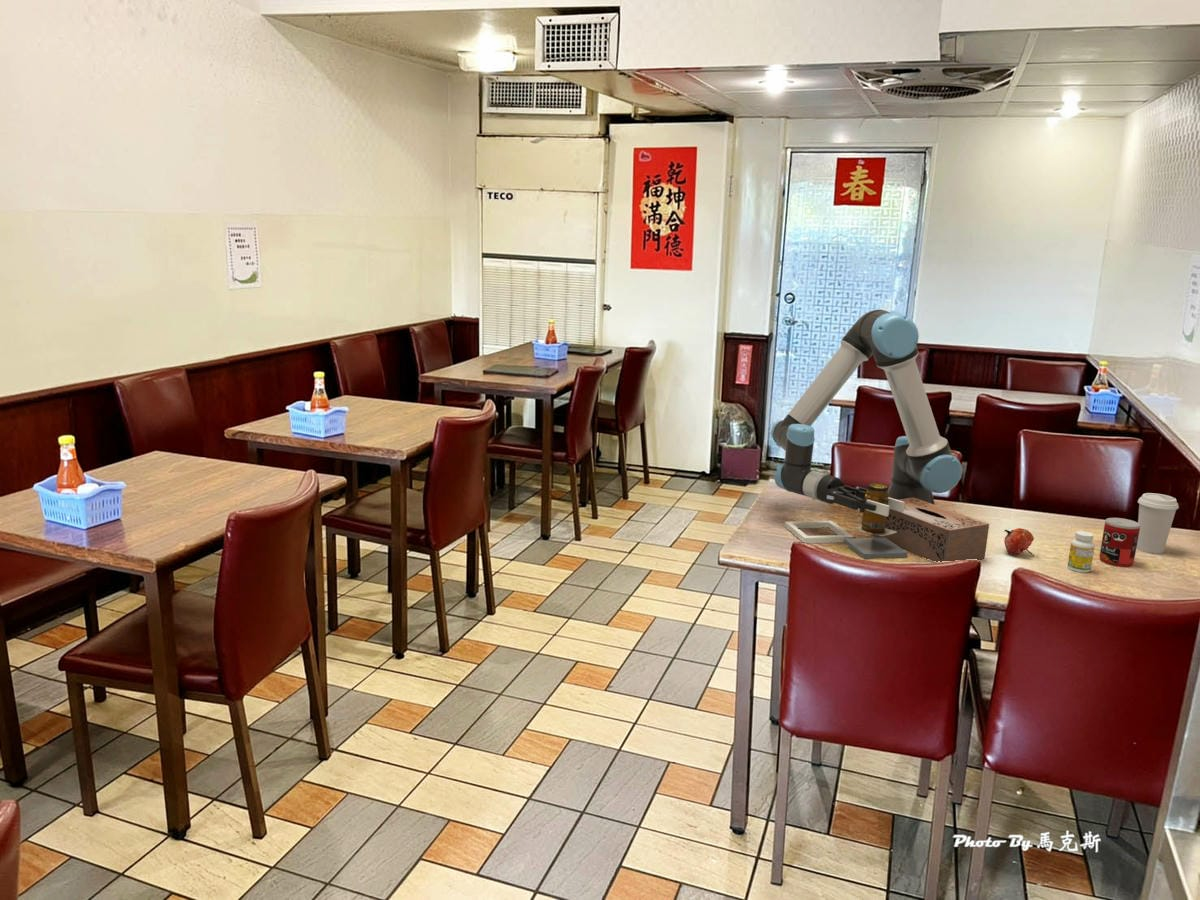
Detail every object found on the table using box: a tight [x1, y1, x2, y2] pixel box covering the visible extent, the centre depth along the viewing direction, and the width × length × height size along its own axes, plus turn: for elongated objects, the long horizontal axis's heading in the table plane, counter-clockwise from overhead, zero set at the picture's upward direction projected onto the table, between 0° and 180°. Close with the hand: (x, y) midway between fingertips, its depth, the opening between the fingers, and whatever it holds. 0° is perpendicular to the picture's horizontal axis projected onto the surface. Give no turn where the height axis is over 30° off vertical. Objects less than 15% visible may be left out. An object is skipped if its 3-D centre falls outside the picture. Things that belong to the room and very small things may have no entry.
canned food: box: [1099, 517, 1140, 568], centre depth 236 cm, size 8×8×11 cm
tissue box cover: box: [871, 498, 990, 562], centre depth 242 cm, size 26×14×10 cm, turn 27°
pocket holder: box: [784, 520, 854, 544], centre depth 251 cm, size 14×14×2 cm
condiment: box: [854, 483, 896, 536], centre depth 237 cm, size 7×8×12 cm
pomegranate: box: [1003, 527, 1035, 557], centre depth 240 cm, size 7×7×10 cm
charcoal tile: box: [843, 537, 908, 560], centre depth 239 cm, size 12×12×1 cm
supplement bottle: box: [1067, 530, 1096, 574], centre depth 230 cm, size 5×5×10 cm
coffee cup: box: [1136, 492, 1180, 555], centre depth 246 cm, size 10×10×15 cm
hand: (895, 509), depth 233 cm, fingers closed on condiment, 6 cm apart
